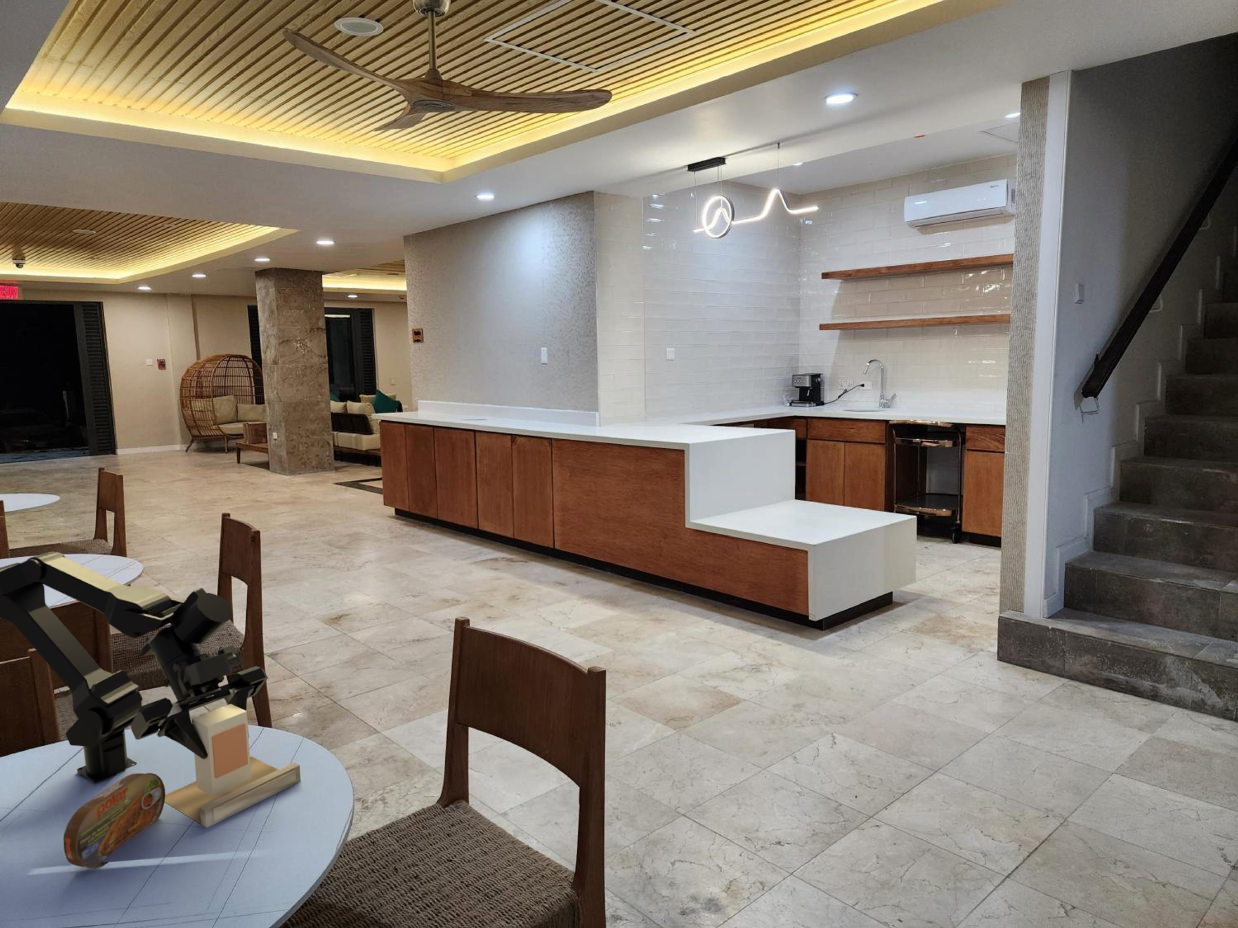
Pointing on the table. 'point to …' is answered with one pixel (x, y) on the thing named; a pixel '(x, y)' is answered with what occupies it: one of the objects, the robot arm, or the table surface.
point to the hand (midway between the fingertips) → (226, 748)
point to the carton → (222, 749)
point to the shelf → (233, 793)
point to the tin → (113, 819)
